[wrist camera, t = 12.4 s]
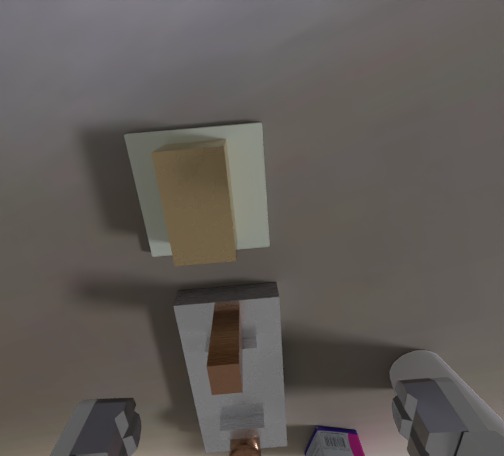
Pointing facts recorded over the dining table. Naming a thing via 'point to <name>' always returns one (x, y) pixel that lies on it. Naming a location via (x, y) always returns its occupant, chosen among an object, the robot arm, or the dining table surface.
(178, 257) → the tan upright box
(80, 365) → the dining table surface
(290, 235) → the dining table surface
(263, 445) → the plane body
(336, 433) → the supplement box
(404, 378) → the foam cup
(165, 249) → the sage mat
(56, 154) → the dining table surface
